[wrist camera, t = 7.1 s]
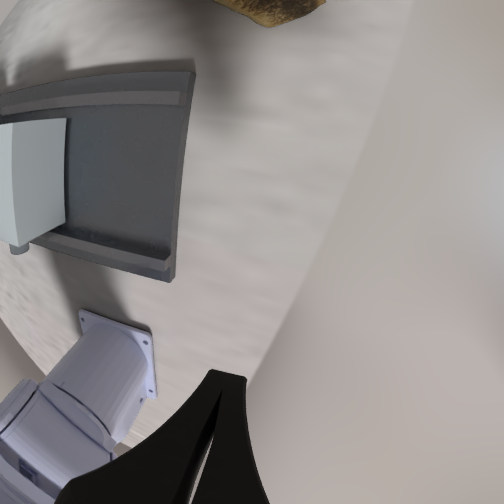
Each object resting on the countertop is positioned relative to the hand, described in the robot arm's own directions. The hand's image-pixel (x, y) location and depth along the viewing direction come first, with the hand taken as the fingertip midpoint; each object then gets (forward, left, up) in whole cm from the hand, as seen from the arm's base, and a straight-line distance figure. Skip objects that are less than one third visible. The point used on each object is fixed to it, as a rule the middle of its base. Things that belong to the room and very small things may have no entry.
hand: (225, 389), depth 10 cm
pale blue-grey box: (+4, +20, -9) cm, 22 cm away
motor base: (+5, +18, -10) cm, 22 cm away
